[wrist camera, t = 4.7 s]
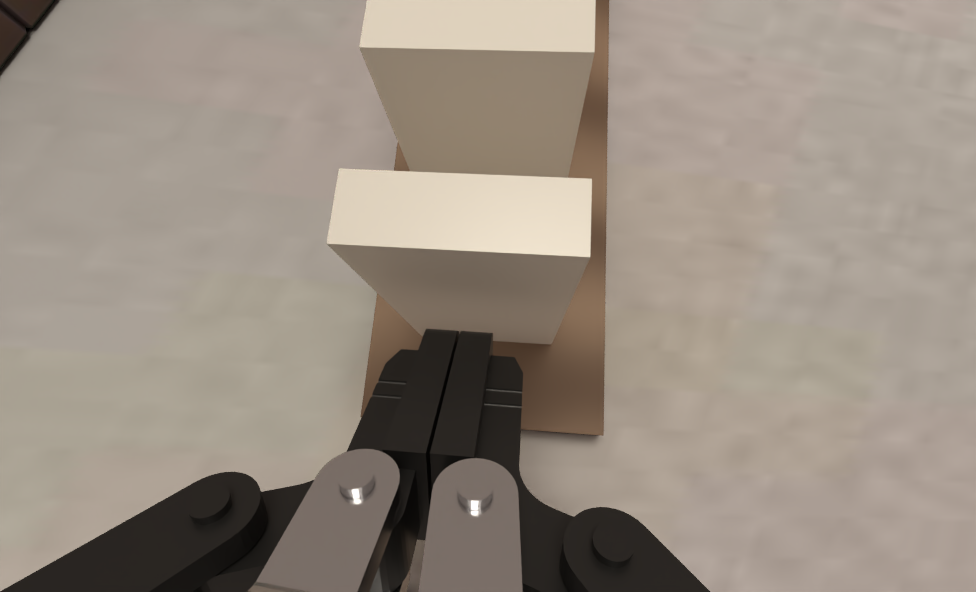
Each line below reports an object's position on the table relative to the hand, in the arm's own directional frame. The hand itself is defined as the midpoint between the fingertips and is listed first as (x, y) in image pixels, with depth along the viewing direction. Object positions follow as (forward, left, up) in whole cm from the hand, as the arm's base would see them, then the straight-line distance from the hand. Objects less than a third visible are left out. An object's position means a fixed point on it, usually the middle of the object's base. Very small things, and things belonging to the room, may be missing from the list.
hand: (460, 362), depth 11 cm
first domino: (+1, +2, -7) cm, 8 cm away
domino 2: (+4, +6, -7) cm, 10 cm away
